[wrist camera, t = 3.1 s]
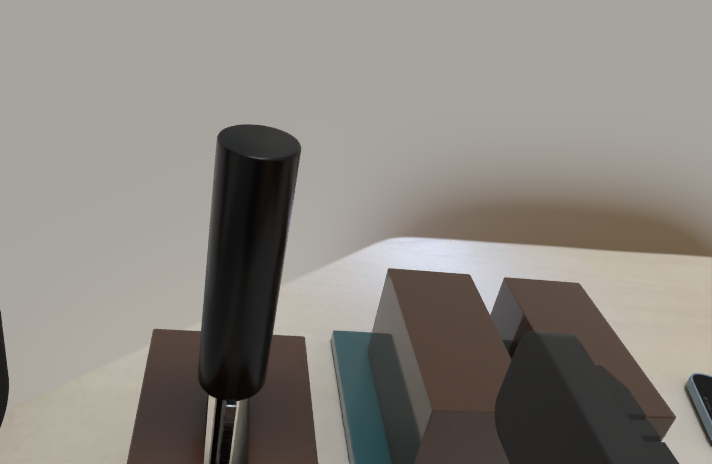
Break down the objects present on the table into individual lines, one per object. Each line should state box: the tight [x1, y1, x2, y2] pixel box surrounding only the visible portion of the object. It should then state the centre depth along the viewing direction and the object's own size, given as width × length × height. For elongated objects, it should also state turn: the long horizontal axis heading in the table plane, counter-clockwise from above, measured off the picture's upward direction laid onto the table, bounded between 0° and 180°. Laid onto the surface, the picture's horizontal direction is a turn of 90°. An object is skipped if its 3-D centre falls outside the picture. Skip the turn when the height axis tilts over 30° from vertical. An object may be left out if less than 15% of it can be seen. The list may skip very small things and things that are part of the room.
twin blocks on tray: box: [331, 268, 676, 464], centre depth 39 cm, size 16×18×8 cm
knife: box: [198, 125, 301, 464], centre depth 25 cm, size 3×3×22 cm
